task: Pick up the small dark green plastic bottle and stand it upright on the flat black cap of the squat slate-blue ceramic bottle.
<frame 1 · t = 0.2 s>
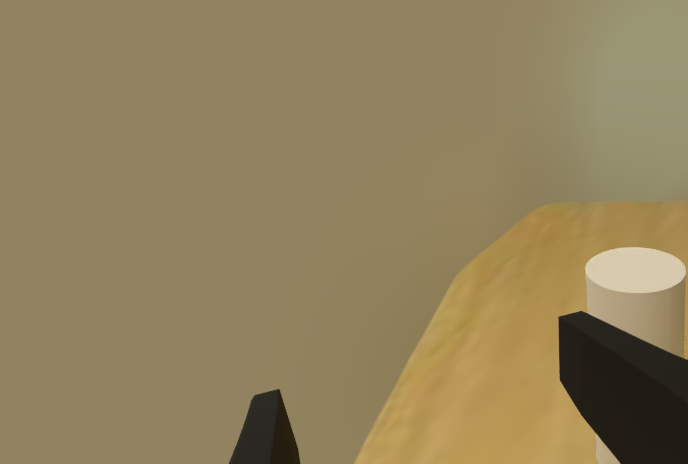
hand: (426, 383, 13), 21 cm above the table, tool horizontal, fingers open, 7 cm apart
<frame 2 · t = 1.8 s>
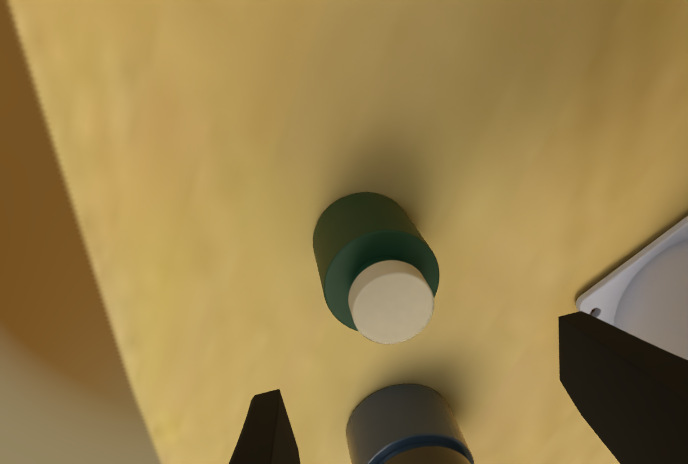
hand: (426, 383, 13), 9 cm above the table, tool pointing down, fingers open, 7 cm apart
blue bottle: (398, 426, 25), on the table
green bottle: (362, 238, 21), on the table
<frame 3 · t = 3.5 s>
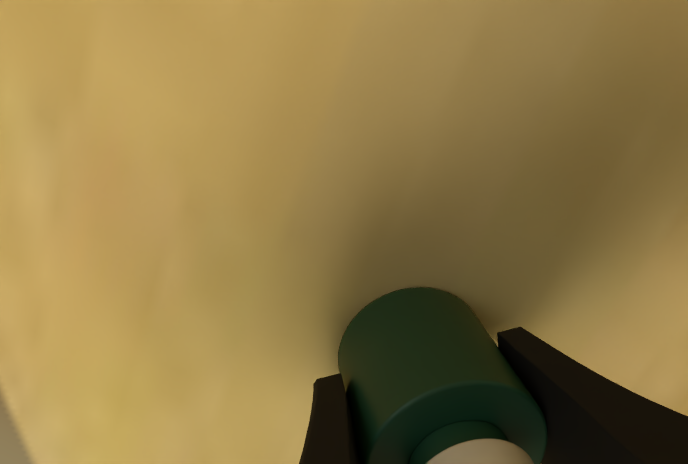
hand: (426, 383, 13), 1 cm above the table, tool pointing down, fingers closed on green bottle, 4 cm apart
green bottle: (409, 349, 14), on the table, touching gripper
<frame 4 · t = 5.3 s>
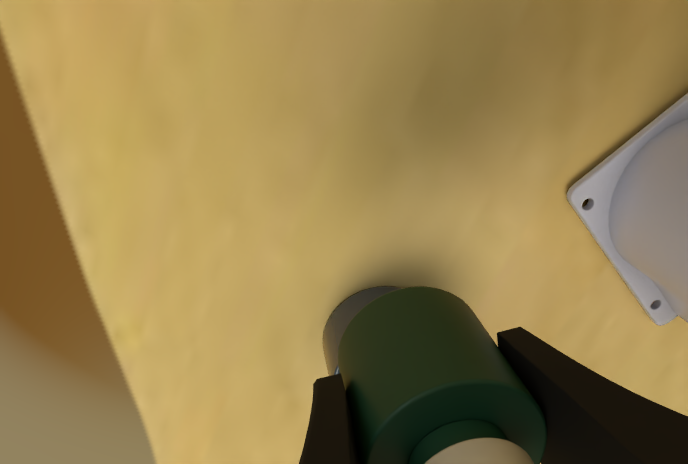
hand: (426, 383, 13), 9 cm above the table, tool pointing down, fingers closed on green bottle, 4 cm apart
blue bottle: (379, 335, 24), on the table
green bottle: (409, 349, 14), point 8 cm above the table, touching gripper
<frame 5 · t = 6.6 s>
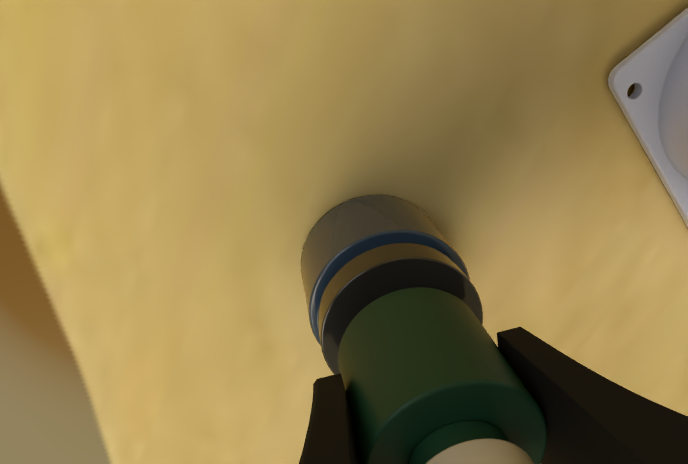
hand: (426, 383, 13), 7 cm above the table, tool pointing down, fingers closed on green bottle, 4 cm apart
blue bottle: (371, 260, 19), on the table
green bottle: (409, 349, 14), point 5 cm above the table, touching gripper
when the fingers open (6 cm above the table, at t = 7.2 s): green bottle stays where it is, resting on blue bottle.
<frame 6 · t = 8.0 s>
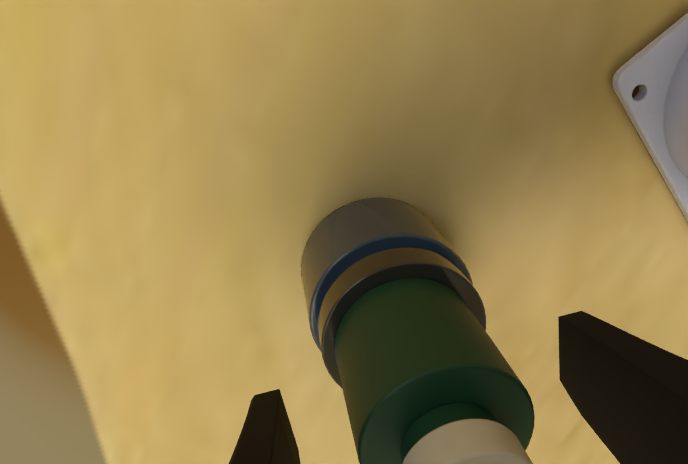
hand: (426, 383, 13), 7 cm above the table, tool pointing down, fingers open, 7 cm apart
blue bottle: (372, 264, 19), on the table, touching green bottle
green bottle: (404, 338, 15), point 5 cm above the table, touching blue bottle
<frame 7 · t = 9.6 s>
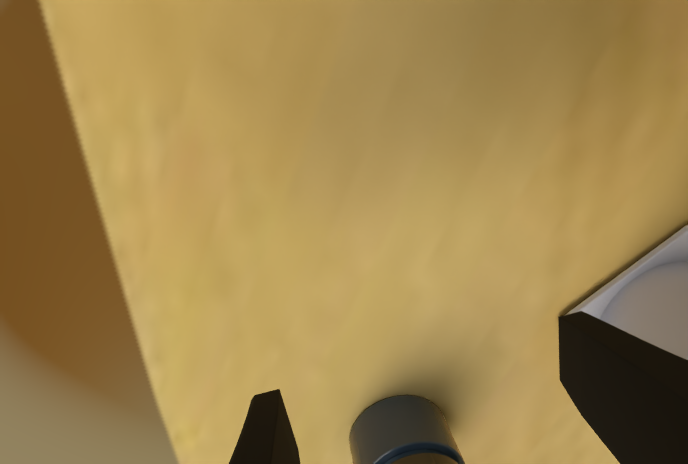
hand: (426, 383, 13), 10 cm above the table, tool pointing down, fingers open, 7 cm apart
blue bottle: (397, 433, 28), on the table, touching green bottle
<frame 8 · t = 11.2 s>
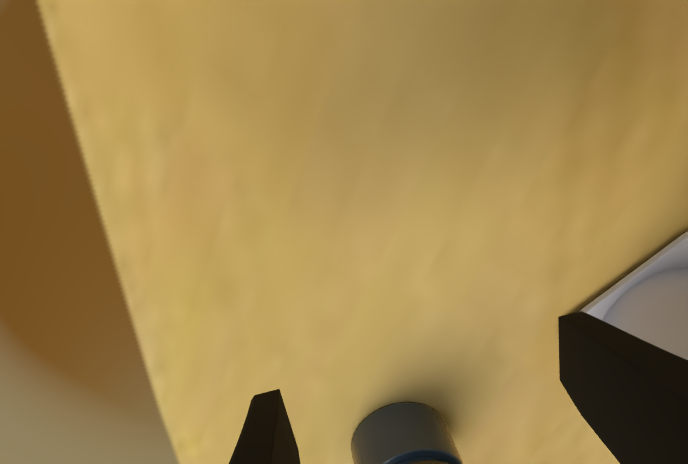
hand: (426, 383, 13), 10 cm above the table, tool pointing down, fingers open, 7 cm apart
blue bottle: (399, 440, 28), on the table, touching green bottle
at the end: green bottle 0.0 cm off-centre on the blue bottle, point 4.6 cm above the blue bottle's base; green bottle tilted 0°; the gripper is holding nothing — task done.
